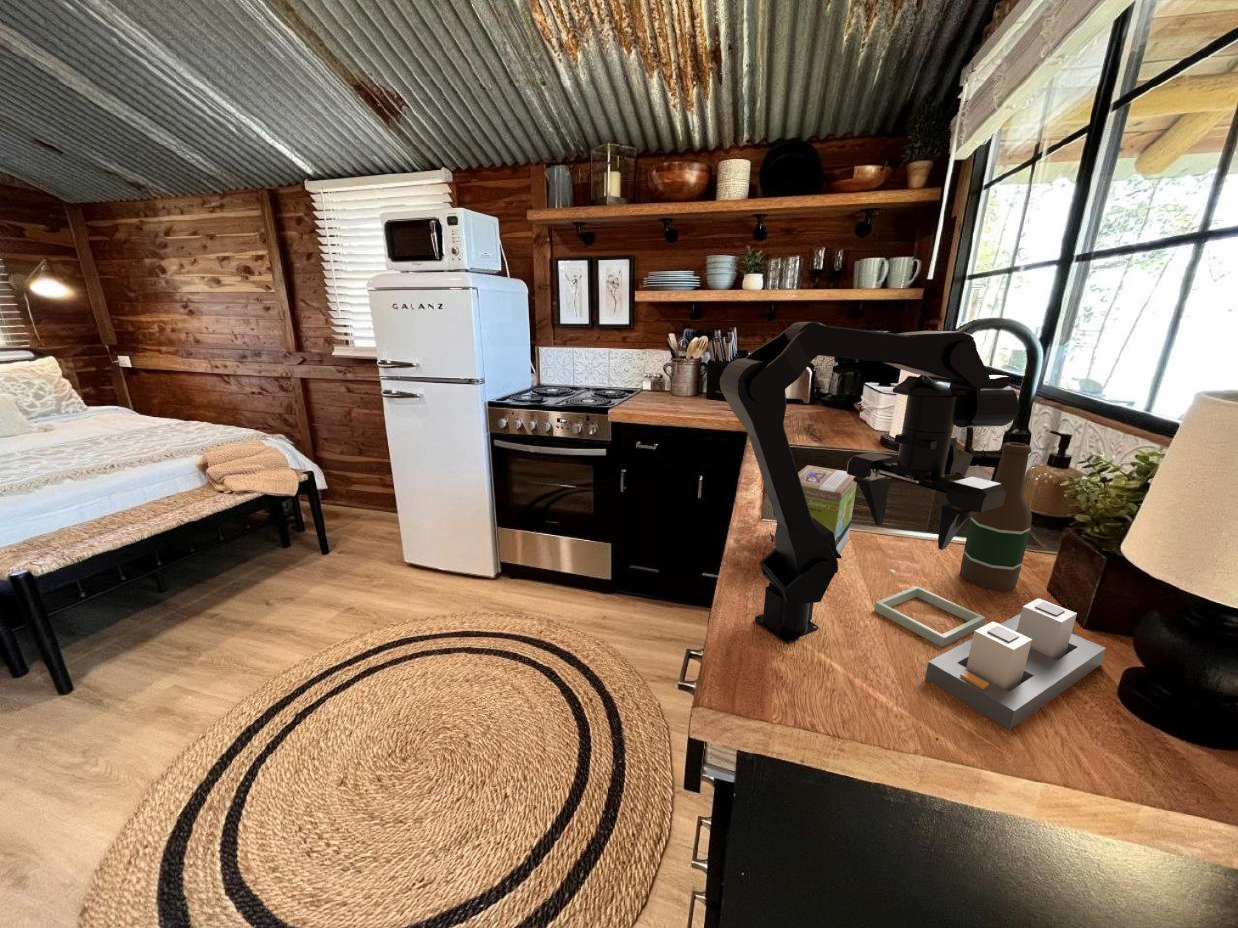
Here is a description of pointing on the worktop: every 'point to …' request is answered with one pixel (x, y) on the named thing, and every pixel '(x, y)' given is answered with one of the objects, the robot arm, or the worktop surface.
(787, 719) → the worktop surface
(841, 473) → the tea box
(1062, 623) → the twin plug
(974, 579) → the beer bottle
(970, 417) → the robot arm
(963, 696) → the strip
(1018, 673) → the iec plug
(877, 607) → the tray
